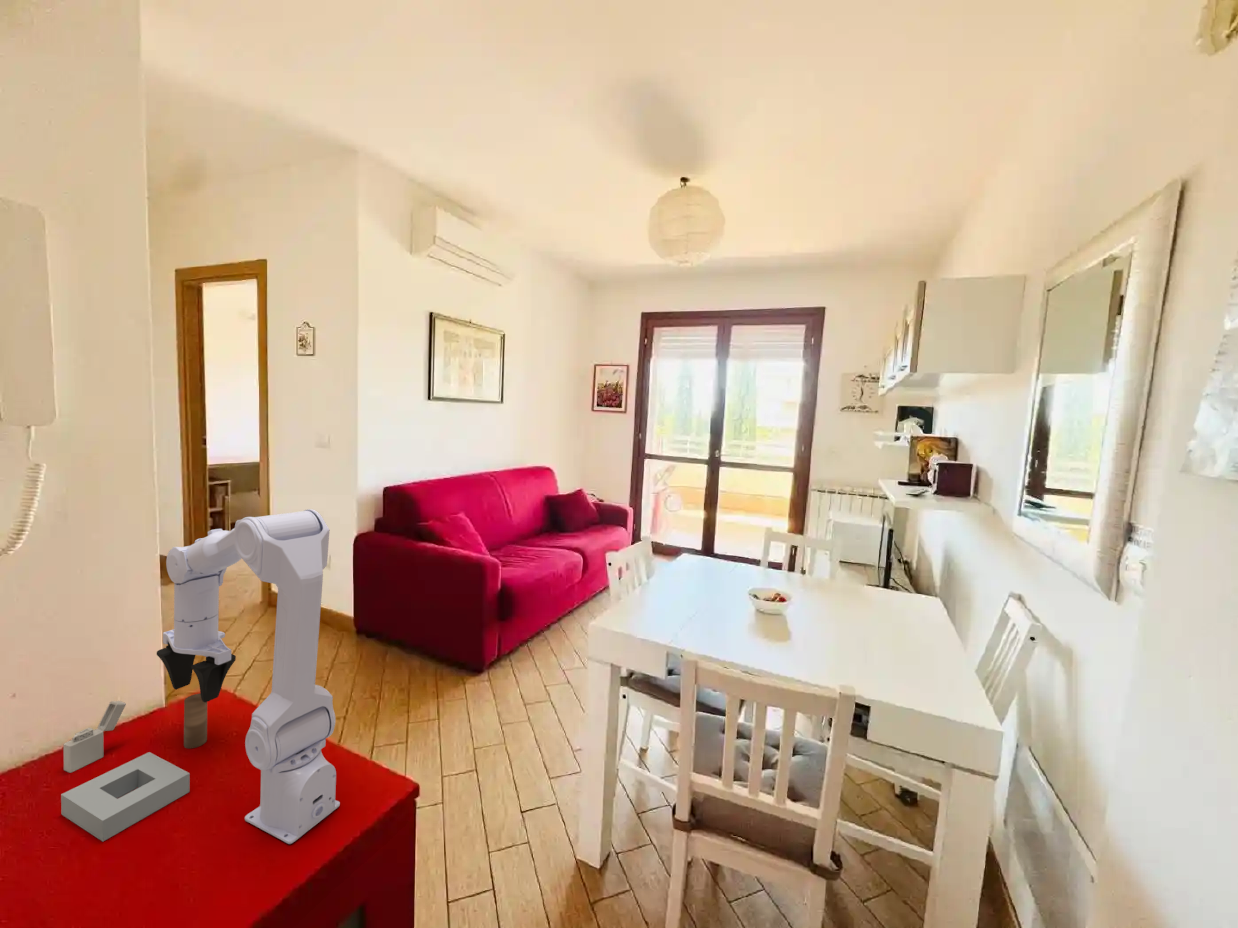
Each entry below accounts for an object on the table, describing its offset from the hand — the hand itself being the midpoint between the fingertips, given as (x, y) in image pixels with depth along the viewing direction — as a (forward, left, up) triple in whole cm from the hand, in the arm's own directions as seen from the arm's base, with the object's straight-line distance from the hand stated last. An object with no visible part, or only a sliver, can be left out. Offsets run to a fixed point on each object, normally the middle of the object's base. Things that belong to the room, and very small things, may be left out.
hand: (195, 692), depth 86 cm
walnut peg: (0, 0, -9) cm, 9 cm away
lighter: (+9, +9, -9) cm, 16 cm away
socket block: (-6, +12, -9) cm, 16 cm away
